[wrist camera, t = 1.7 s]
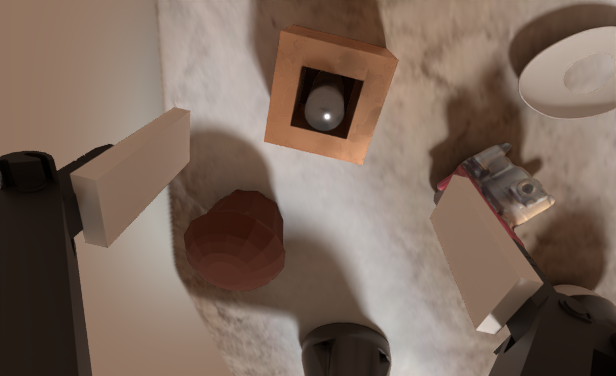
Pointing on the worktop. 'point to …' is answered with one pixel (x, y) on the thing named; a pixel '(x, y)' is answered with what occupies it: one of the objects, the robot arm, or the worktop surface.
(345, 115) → the collar
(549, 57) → the spoon
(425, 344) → the worktop surface
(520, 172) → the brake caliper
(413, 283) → the worktop surface
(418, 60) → the worktop surface
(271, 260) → the muffin
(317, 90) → the stand rod
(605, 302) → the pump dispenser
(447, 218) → the robot arm
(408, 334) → the worktop surface
